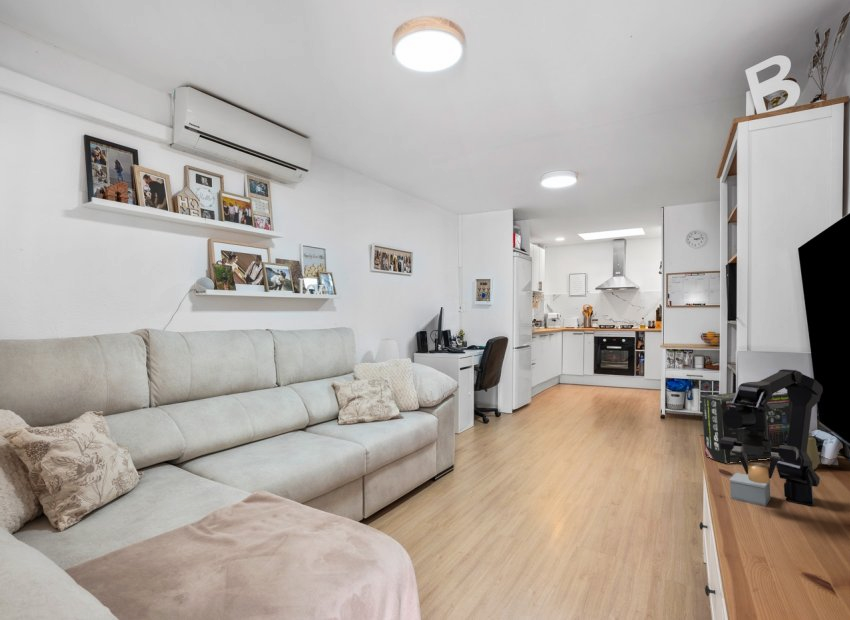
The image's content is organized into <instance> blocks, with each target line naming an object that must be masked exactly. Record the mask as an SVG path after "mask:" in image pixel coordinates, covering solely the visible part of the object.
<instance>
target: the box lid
mask: <svg viewBox="0 0 850 620" xmlns="http://www.w3.org/2000/svg"><path fill="white" fill-rule="evenodd" d="M730 482H735V483H740V484H745V485H750V486H755V487H760V488H764V489H765V488H766V486H767V485H768V483H757V482H753V481H751V480H749V479H748V474H746V473H744V474H743V473H739V472H735V473H734V474H733V475H732V476H731V477H730V478H729V483H730Z"/></svg>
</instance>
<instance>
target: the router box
mask: <svg viewBox="0 0 850 620" xmlns="http://www.w3.org/2000/svg"><path fill="white" fill-rule="evenodd" d="M735 394H736V392H731V393H719V394H718V393H716V394H703V395H700V398H701V399H700V400H701V401H700V402H701V413H702V429H703V442H704V454H705V455H706V456H709V457H710V458H712V459H714V460H713V461H715V460H717V461H716V462H718V461H720V462H719V463H721V462H724V463H723V464H725V463H730V462H739V461H740V459H739V458H738V456H737V455H736V454H734V453H732V452H731V451H732V450H725V449H720V448H719V441H720V440H721V439H722V438H723V437H729V438H737V442H742V440H743V436H744V428H739V429H732V428H730V427H728V426H727V425H726V424H725V422H724V420H723V415H724V413H725V412H726V411H727V410H729V406H731V405H732V404H731V403H732V401H733V399H734V396H735ZM772 397H773V398H772V399H771V400H770V401H769V402H767V404H766V405H768V406H769V407H770V409H769V410H766V413H767V428H768V439H770V440H771V443H772V447H778V448H779V446H780V444H781V442H782V441H783V439H784V438H785V437H786V435H787V434H788V433H789V425H790V417H791V410H792V403H791V401H790V399H789V398H788V396H787V392H782V393H781V391H777V392H775V393H774V394H772ZM741 401H742V400H741ZM743 402H745V401H743ZM750 403H751V402H750ZM733 406H734V405H733ZM705 455H704V456H705ZM771 455H772V454H771V453H768V452H763V455H761V456H758V455H755V454H747V460H748V461H750V460H758V459H767V458H770V456H771ZM706 456H705V457H706ZM710 458H709V459H710ZM712 459H711V460H712Z"/></svg>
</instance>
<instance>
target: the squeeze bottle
mask: <svg viewBox="0 0 850 620" xmlns="http://www.w3.org/2000/svg"><path fill="white" fill-rule="evenodd" d="M816 444H817V439H816V438H815V437H814V436H813V432H812V431H811V430H809V437H808V445H807V454H808V456H809V457H810V459H811V461H812V469H816V468H818V466H819V463H820V456H819V450H818V444H817V445H816ZM816 470H817V469H816Z"/></svg>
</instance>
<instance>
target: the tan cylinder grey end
mask: <svg viewBox="0 0 850 620" xmlns="http://www.w3.org/2000/svg"><path fill="white" fill-rule="evenodd" d="M769 466H770V465H767V464H764V463H760V462H748V474H747V475H748V479H749V480H751V481H753V482H757V483H770V484H771V479H770V478H769Z"/></svg>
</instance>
